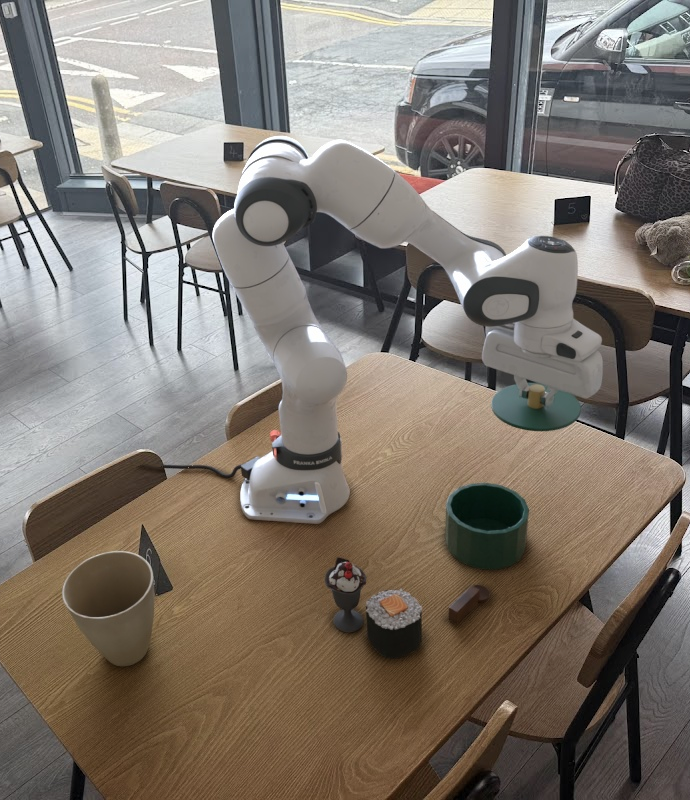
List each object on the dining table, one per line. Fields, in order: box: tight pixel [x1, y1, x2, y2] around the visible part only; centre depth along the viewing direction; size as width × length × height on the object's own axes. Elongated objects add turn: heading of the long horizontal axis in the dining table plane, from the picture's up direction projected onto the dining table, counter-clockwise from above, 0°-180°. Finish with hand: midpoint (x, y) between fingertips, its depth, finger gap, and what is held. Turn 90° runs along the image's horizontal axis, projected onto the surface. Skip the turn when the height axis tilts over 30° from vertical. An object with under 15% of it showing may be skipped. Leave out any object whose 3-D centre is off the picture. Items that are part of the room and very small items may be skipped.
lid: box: [490, 382, 582, 432], centre depth 139 cm, size 15×15×5 cm
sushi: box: [365, 588, 423, 660], centre depth 126 cm, size 8×8×8 cm
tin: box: [444, 482, 530, 570], centre depth 141 cm, size 14×14×8 cm
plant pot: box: [61, 550, 155, 667], centre depth 131 cm, size 15×15×16 cm
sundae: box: [324, 556, 367, 633], centre depth 129 cm, size 7×7×15 cm
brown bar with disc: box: [448, 584, 491, 625], centre depth 131 cm, size 9×3×3 cm, turn 131°
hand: (535, 400), depth 139 cm, fingers closed on lid, 2 cm apart
